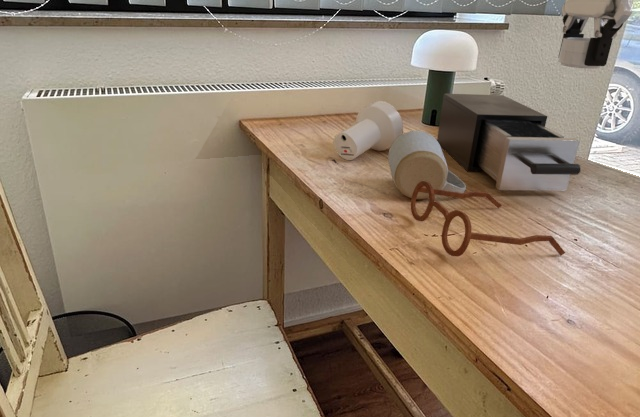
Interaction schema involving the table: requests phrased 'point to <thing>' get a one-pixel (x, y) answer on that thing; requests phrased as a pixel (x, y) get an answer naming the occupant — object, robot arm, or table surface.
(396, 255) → the table surface
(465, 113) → the dark brown hollow box
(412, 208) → the glasses
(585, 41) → the white rounded cylinder
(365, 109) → the spotlight
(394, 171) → the ceramic mug
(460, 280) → the table surface
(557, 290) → the table surface
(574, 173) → the drawer
